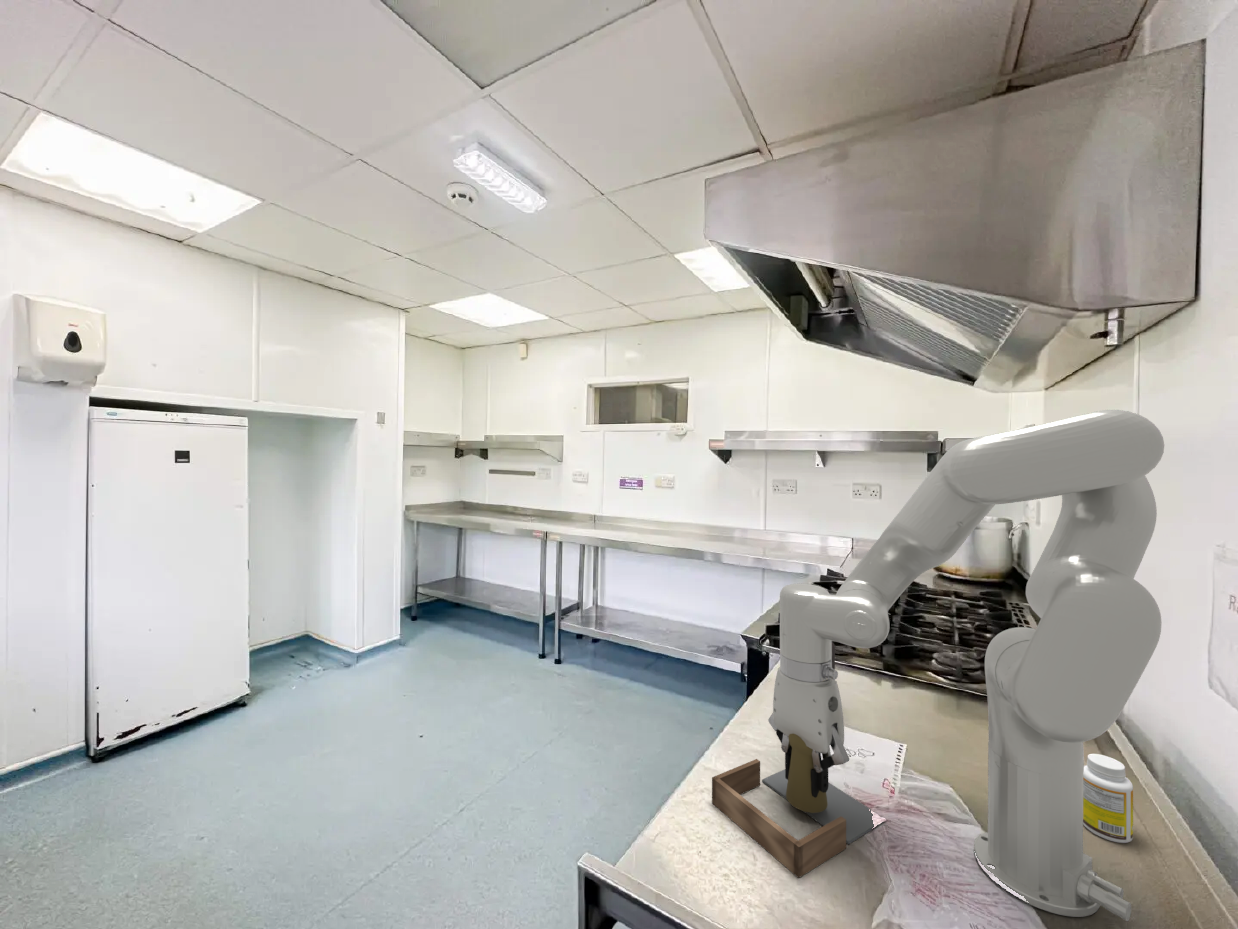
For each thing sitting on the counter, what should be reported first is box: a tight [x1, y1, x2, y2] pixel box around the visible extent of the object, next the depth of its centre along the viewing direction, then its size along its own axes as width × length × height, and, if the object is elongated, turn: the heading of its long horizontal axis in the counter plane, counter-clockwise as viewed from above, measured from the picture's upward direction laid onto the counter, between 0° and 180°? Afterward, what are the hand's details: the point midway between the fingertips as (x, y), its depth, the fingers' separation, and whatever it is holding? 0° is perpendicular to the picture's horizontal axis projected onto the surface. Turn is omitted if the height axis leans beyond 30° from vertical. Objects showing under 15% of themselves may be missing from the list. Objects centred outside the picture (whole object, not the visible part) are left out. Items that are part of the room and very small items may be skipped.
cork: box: [786, 734, 828, 813], centre depth 77 cm, size 6×6×11 cm
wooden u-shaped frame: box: [711, 758, 847, 879], centre depth 74 cm, size 17×10×4 cm, turn 31°
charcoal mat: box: [761, 768, 874, 845], centre depth 79 cm, size 16×9×1 cm, turn 31°
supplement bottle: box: [1083, 753, 1134, 844], centre depth 73 cm, size 6×6×10 cm
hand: (806, 784), depth 77 cm, fingers closed on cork, 4 cm apart
